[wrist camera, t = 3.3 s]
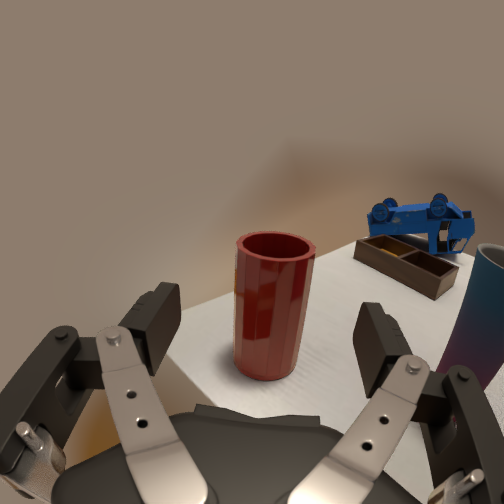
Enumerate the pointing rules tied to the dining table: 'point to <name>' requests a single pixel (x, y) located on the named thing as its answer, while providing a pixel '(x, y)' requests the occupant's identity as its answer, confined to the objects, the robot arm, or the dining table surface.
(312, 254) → the tumbler
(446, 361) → the cup
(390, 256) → the caddy
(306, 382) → the dining table surface
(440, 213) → the toy vehicle
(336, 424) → the dining table surface
